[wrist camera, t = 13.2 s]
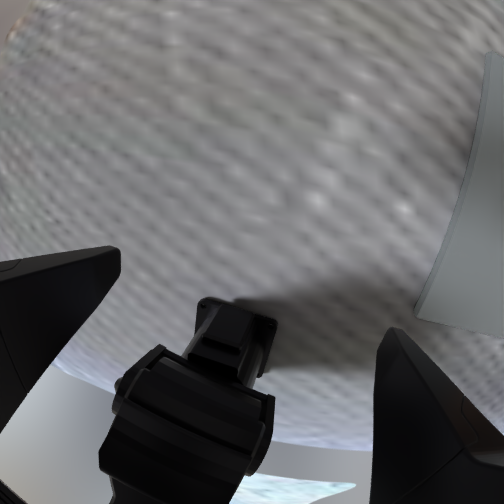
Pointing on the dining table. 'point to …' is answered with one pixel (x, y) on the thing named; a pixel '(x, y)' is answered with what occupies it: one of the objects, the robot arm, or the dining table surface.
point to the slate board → (475, 228)
